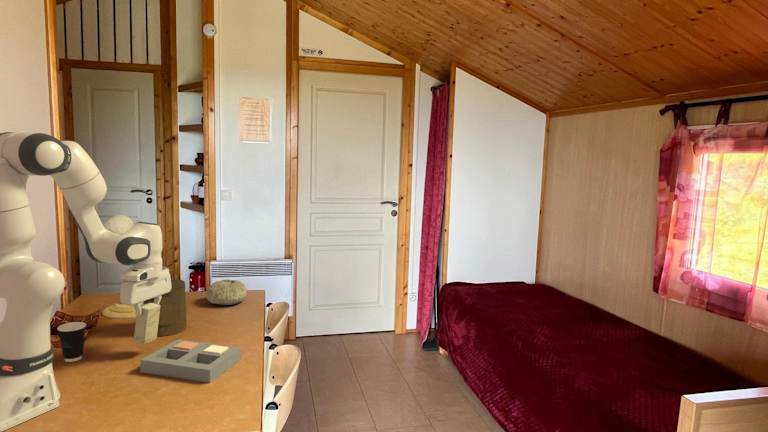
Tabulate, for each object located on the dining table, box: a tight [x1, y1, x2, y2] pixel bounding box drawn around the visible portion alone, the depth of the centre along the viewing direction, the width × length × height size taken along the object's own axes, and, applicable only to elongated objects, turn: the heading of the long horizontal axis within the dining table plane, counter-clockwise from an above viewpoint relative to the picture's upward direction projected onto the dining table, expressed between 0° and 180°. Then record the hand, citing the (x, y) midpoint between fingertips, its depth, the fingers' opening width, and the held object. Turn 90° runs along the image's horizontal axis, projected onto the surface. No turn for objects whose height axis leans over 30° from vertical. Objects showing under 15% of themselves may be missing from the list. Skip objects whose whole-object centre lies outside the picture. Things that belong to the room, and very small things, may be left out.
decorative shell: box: [205, 279, 248, 306], centre depth 222 cm, size 18×18×10 cm
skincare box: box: [133, 302, 160, 345], centre depth 163 cm, size 6×4×12 cm
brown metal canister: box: [143, 278, 187, 337], centre depth 186 cm, size 15×15×22 cm
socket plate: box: [139, 338, 242, 384], centre depth 156 cm, size 18×24×4 cm
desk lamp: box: [101, 214, 144, 320], centre depth 206 cm, size 31×23×40 cm
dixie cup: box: [56, 321, 87, 363], centre depth 158 cm, size 8×8×11 cm
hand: (147, 311), depth 162 cm, fingers closed on skincare box, 6 cm apart
